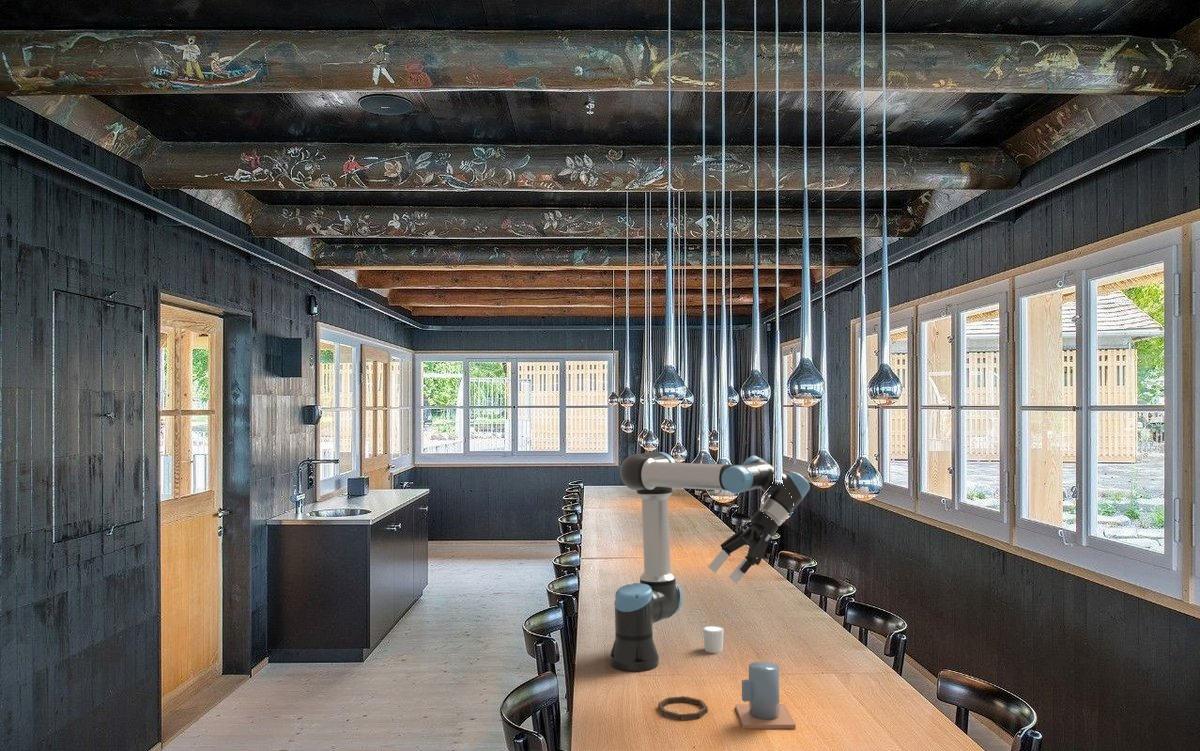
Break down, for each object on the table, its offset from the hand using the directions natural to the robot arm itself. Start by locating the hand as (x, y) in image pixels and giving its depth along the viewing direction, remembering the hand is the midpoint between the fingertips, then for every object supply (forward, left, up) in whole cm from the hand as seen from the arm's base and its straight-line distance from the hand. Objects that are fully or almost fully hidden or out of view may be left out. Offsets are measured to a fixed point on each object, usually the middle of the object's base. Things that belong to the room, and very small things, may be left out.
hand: (721, 574), depth 219 cm
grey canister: (+11, +16, -32) cm, 37 cm away
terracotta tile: (+10, +16, -33) cm, 38 cm away
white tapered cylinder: (-32, -19, -33) cm, 49 cm away
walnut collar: (+17, -4, -33) cm, 37 cm away
